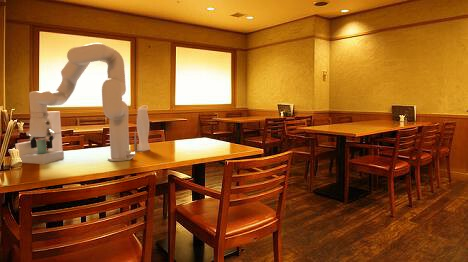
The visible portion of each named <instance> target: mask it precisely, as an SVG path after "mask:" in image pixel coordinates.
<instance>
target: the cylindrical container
mask: <svg viewBox="0 0 468 262" xmlns="http://www.w3.org/2000/svg"><path fill="white" fill-rule="evenodd" d="M47 113H48V114H49V115H48V118H49V119H50V122H51V127H52V131H54V132H55V133H56V134H55V137H54V139H53V140H52V148H50V149H48V150H47V151H64V150H63V138H62V123H61V112H60V110H57V111H55V110H54V111H47ZM48 138H49V137H48Z"/></svg>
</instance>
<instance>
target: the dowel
mask: <svg viewBox="0 0 468 262" xmlns="http://www.w3.org/2000/svg"><path fill="white" fill-rule="evenodd" d="M36 140H37V149H38V154H45V153H47V151H48V150H47V145H46V141H47V140H46V138H44V139H43V138H40V139H36Z"/></svg>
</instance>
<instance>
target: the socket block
mask: <svg viewBox="0 0 468 262" xmlns="http://www.w3.org/2000/svg"><path fill="white" fill-rule="evenodd" d="M64 153H65V152H64V150H63V151H49V150H47V153H45V154H38V151H36V152H31V153H27V154H22V155H20V158H21V160H22V163H21V164H39V165H40V164H41V165H44V164H48V163H50V162H51V163H52V162H55V161H56V162H57V161H59V160H63V159H65V155H64Z"/></svg>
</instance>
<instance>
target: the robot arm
mask: <svg viewBox="0 0 468 262" xmlns="http://www.w3.org/2000/svg"><path fill="white" fill-rule="evenodd" d="M66 58H67V60H68V61H67V62H66V64H65V65H64V67H63V68H62V69H61V71H60V74H61V78H62V79H61V82H60V84H59V86H58V87H57V88H56V90H47V91H30V92H29V94H28V97H29V99H28V100H29V110H30V118H29V129H28V130H27V131H26V132H25V133H26V136H27V138H28V140H29V141H31V148H36V147H37V141H36V140H37V138H44V139H46V150H47V149H50V148H52V140H53V139H54V137H55V134H56V133H55V132H54V131H52V127H51V122H50V119H49V118H48V115H49V114H48V113H47V112H48V106H51V107H54V106H55V107H56V106H62V105H64V104H65V103H67V101H68V100H69V98H70V97H71V96H72V94H73V93H74V91H75V88H76V86H77V82H78V81H79V79H80V78H81V76H82V74H83V73H85V70H86V69H87V68H88V66H89V65H90V64H91V63H94V62H101V63H105V64H107V71H106V72H107V79H106V80H105V81H104V82H103V83H102V86H101V100H102V101H101V103H102V111H103V114H104V115H105V117H106V118H108V119H109V121H108V122H109V124H108V125H109V127H108V129H109V145H110V156H108V157H107V161H110V162H124V161H130V160H132V159H133V157H136V154H137V153H136V152H132V149H130V136H129V135H130V133H129V132H130V131H129V130H130V129H129V112H130V111H129V106H128V104H127V103H126V102H125V101H123V96H124V95H125V94H126V92H127V91H126V90H127V87H126V73H125V72H126V71H125V62H124V58H123V56H122V55H121V53H120V52H119V51H117V50H116V49H114V48H112V47H110V46H109V45H106V44H105V43H101V42H95V43H89V44H85V45H84V44H83V45H79V46H78V45H77V46H73V47H71V48H70V49H68V51H67V53H66ZM48 137H49V138H48Z"/></svg>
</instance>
